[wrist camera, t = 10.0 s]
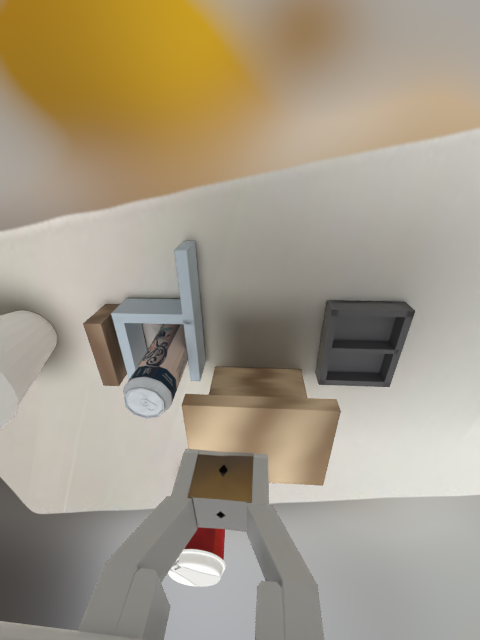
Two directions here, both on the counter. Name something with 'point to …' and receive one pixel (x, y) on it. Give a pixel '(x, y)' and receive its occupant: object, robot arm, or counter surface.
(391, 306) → the tray
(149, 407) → the beer can
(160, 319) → the blue grey drawer
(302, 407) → the tunnel
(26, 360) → the cup
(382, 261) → the counter surface
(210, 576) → the coffee cup
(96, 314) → the end stop
